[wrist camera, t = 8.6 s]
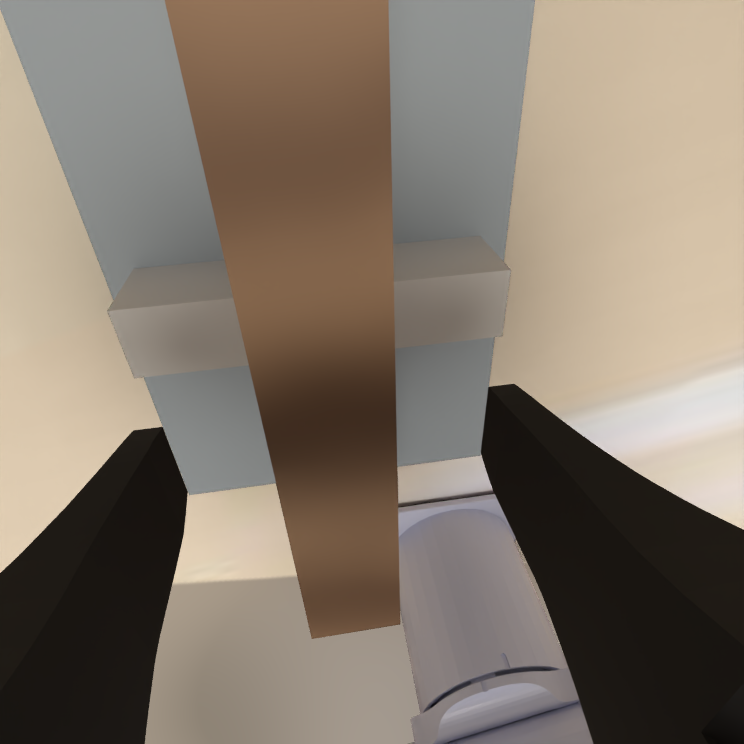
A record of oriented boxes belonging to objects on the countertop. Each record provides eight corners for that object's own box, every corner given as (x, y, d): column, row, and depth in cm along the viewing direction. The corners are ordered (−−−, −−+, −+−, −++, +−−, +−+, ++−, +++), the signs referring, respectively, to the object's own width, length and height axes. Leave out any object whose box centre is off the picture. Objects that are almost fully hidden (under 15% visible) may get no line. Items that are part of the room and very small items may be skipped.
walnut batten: (378, 507, 21) (400, 624, 17) (306, 517, 20) (311, 639, 16) (347, -56, 10) (386, -106, 6) (200, -50, 10) (141, -99, 6)
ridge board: (474, 441, 25) (502, 503, 22) (192, 479, 24) (178, 550, 21) (531, -96, 13) (609, -133, 10) (-15, -78, 12) (-125, -114, 9)
